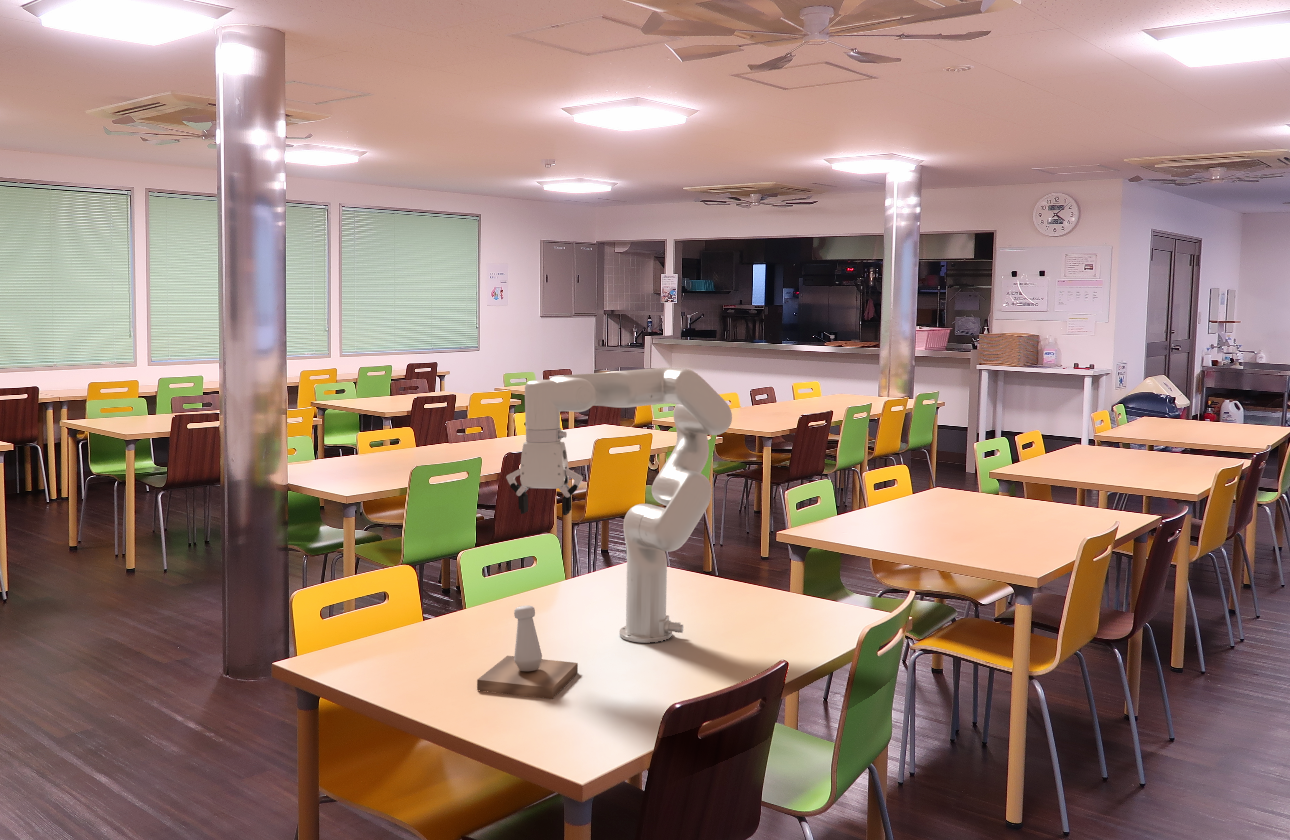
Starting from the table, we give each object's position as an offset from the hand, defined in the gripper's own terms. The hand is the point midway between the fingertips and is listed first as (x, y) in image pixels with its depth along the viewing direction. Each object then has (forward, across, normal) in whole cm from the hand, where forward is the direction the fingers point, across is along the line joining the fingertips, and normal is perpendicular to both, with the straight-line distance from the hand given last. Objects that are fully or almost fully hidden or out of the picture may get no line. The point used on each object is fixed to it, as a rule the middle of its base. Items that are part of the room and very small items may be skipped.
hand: (545, 513), depth 229 cm
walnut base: (+32, -1, +18) cm, 37 cm away
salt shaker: (+29, -1, +18) cm, 34 cm away
